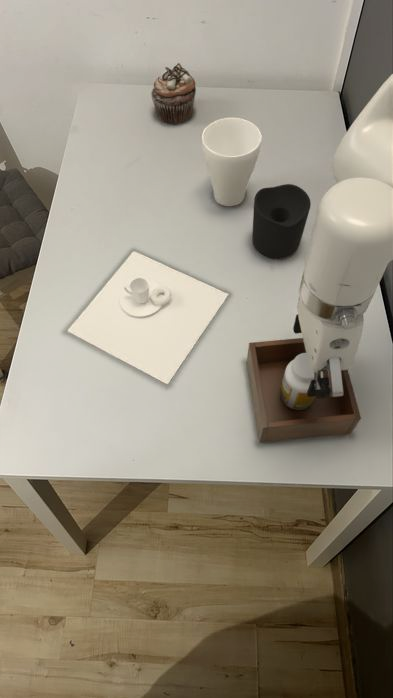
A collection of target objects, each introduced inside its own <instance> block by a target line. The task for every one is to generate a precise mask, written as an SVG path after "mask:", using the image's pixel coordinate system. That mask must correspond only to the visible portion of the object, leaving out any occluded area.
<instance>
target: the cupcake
mask: <svg viewBox="0 0 393 698" xmlns="http://www.w3.org/2000/svg"><path fill="white" fill-rule="evenodd" d="M196 93H197V88H196V81H195V79H194V78H193V76H192V75H191V74H190V73H189V71H188V70H187V69H185V68H184V67H183V66H182V65H181V63H180V62H177V63H175V65H174V66H173V68H172V69H171V68H170V67H167V66H165V69H164V71H163V70H162V72H161V73H160V74H159V76H158V77H157V78H156V79H155V80H154V82H153V88H152V89H151V92H150V96H151V100H152V102H153V106H154V109H155V113H156V115H157V119H159V120H160V121H161V122H163V123H165V124H169V125H177V124H182V123H183V122H186V121H187V120H189V119H190V118H191V117H192V115H193V109H194V103H195V98H196Z"/></svg>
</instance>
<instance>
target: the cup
mask: <svg viewBox="0 0 393 698" xmlns="http://www.w3.org/2000/svg"><path fill="white" fill-rule="evenodd" d="M262 140H263V136H262V132H261V130H260V129H259V127H258V126H257V125H256V124H254V123H253V122H252V121H249V120H246V119H243V118H241V117H224V118H219V119H216V120H215V121H213V122H211V123H209V124H208V125H207V126H206V127H205V128H204V129H203V131H202V134H201V145H202V154H203V157H204V162H205V165H206V168H207V171H208V174H209V177H210V181H211V184H212V185H211V186H212V189H213V197H214V200H215V201H216V203H218V204H219V205H222V206H225V207H235V206H237V205H240V204H241V203H242V202H244V200H245V197H246V191H247V187H248V185H249V181H250V179H251V177H252V175H253V172H254V170H255V167H256V164H257V161H258V158H259V154H260V152H261V151H260V150H261V146H262Z"/></svg>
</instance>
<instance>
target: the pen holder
mask: <svg viewBox="0 0 393 698" xmlns="http://www.w3.org/2000/svg"><path fill="white" fill-rule="evenodd" d="M310 210H311V199H310V196H309V194H308V193H307V192H306V191H305V189H303V188H301V187H300V186H298V185H295V184H292V183H287V184H285V183H284V184H281V185H276V186H270V187H263V188H261V189H259V190H258V191H257V192H256V193H255V196H254V198H253V214H252V215H253V216H252V237H251V239H252V245H253V248H254V250H255V251H256V252H257V253H258V254H260V255H261V256H263V257H265V258H267V259H270V260H283V259H284V260H285V259H287V258H289V257H292V256H293V255H294V254H295V253H296V252H297V251H298V249H299V247H300V244H301V241H302V238H303V234H304V231H305V227H306V224H307V220H308V217H309V213H310Z"/></svg>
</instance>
